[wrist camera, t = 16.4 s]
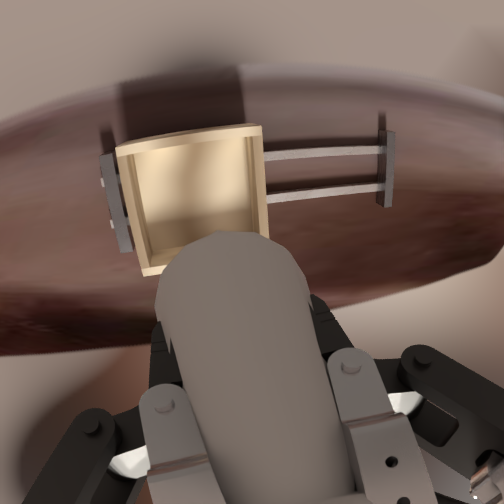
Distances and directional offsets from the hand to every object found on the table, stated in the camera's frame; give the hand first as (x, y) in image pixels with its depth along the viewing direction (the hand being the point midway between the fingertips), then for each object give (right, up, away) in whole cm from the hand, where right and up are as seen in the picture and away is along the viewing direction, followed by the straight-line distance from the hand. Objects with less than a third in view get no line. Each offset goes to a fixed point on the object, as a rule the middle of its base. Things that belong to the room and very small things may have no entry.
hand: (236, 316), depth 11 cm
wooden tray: (-5, +8, +17) cm, 19 cm away
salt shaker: (-1, +1, +3) cm, 3 cm away
